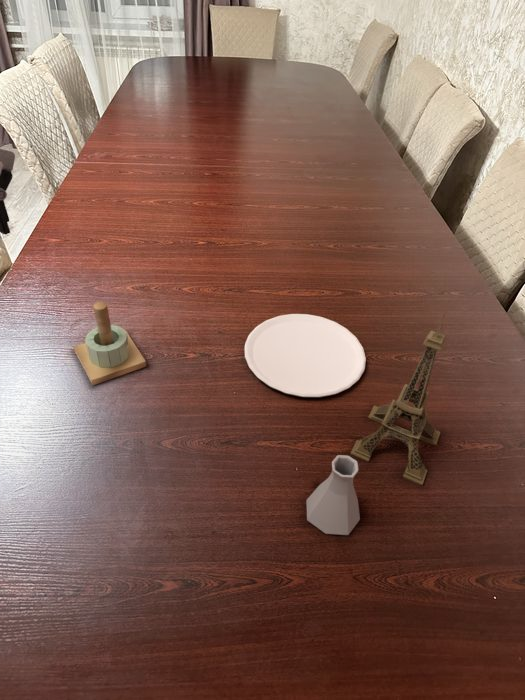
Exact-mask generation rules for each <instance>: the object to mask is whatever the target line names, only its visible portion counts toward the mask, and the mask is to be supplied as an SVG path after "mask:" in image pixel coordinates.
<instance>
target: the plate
mask: <svg viewBox="0 0 525 700" xmlns="http://www.w3.org/2000/svg"><path fill="white" fill-rule="evenodd" d="M244 359H245V361H246V363H247V366H248V369H249V370H250V371H251V372H252V373H253V374H254V376H255V377H256V378H257V379H258V380H259V381H261V382H262V383H263V384H265V385H266V386H268V387H269V388H271V389H273V390H275V391H279V392H281V393H283V394H285V395H291V396H295V397H300V398H325V397H329V396H335V395H337V394H340V393H342V392H344V391H346V390H349V389H350V388H352V387H353V385H355V384H356V383H357V382H358V381H359V380H360V378H361V377H362V375H363V374H364V372H365V369H366V361H367V356H366V353H365V349H364V347H363V346H362V343H360V340H359V339H358V338H357V336H356V335H354V333H352V332H351V331H350V330H349V329H348V328H346V327H344V326H343V325H341V324H339V323H338V322H337V321H334V320H332V319H328V318H325V317H322V316H319V315H314V314H308V313H290V314H282V315H277V316H275V317H272V318H269V319H266V320H264V321H263V322H261V323H260V324H258V325H257V326H255V327H254V329H252V330H251V332H250V333H249V334H248V336H247V338H246V340H245V344H244Z"/></svg>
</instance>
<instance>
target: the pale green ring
mask: <svg viewBox="0 0 525 700" xmlns="http://www.w3.org/2000/svg"><path fill="white" fill-rule="evenodd" d="M111 330H112V335H113V341H114V344H111V345H108V346H101V342H100V337H99V332H98V327H97V326H96V327H94V328H92V329H91V330H90V331H89V332H87V334H86V336H85V339H84V343H85V344H86V348H87V352H88V357H89V359H90V361H91V363H92V364H94V365H96V366H98V367H105V368H111V367H114V366H117V365H120V364H122V363H123V362H124V361H125V360H126V359H127V358H128V357H129V352H130V350H129V343H128V337H127V333H128V332H127V331H126V332H127V333H126V332H125V330H126V329H124V327H121V326H119V325H116V324H111Z"/></svg>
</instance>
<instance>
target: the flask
mask: <svg viewBox="0 0 525 700" xmlns="http://www.w3.org/2000/svg"><path fill="white" fill-rule="evenodd" d="M358 472H359V464H358V461H357V460H356V459H354V458H353V457H351V456H350V455H343V454H337V455H336V457H334V458H333V460H332V461H331V473H330V474H329V476H328V477H327V478H326V479H325V480H324V481H323V482H321V483H320V484H318V486H317V487H316V488H315V489H314V491H312V493H311V494H310V495H309V496H308V497H307V499H306V503H305V504H306V521H307V522H309V523H310V524H312V525H313V526H314V527H316V528H317V529H318V530H320V531H322V533H324V534H325V535H339V536H349V535H350V533H352V531H353V530H354V528H355V527H356V525H357V524H358V523H359V521H360V520H361V518H360V517H361V516H360V515H361V513H360V506H359V499H358V495H357V492H356V489H355V486H354V478H355V476H356V475H357V474H358Z"/></svg>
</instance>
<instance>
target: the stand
mask: <svg viewBox="0 0 525 700" xmlns="http://www.w3.org/2000/svg"><path fill="white" fill-rule="evenodd" d="M92 308H93V312H94V317H95V322H96V327H98V332H99V337H100V342H101V346H108V345H111V344H114V341H113V335H112V330H111V325H112V324H111V319H110V314H109V307H108V304H107V303H106V302H105V301H97V302H95V303H94V304H93V307H92ZM124 330H125V332H126V333H127V337H128V343H129V350H130V352H129V357H128V358H127V359H126V360H125V361H124V362H123V363H122V364H120V365H117V366H114V367H111V368H105V367H98V366H96V365H94V364H92V363H91V361H90V359H89V357H88V352H87V348H86V344H85V342H82V343H80V344H77V345H74V346H73V349H74V352H75V354H76V357H77V359H78V360H79V362H80V364H81V367H82V368H83V370H84V372H85V374H86V376H87V377H88V379H89V381H90V383H91V385H92V386H95V385H99V384H101V383H104V382H107V381H110V380H112V379H114V378H118V377H120V376H124V375H127V374H129V373H132V372H134V371H138V370H140V369H143V368H146V367H147V361H146V359H145V357H144V356H143V354H142V353H141V352H140V350H139V349H138V347H137V345H136V344H135V342H134V341H133V339H132V338H131V336H130V335H129V333H128V331H127V330H126V329H124Z"/></svg>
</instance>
